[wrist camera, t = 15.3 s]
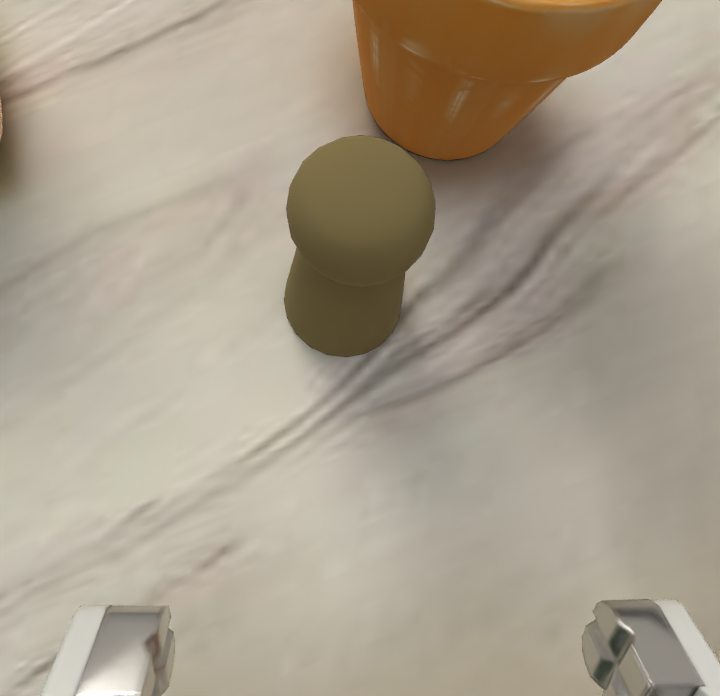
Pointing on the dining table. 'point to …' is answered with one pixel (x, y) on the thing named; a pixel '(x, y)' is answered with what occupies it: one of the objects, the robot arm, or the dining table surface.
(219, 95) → the dining table surface
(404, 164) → the pepper shaker
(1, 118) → the hamburger
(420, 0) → the flower pot
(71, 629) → the robot arm
